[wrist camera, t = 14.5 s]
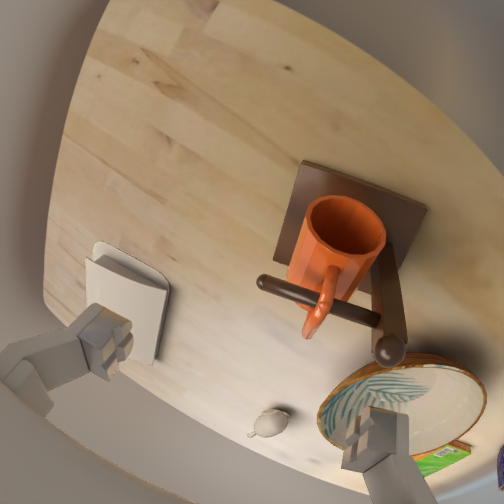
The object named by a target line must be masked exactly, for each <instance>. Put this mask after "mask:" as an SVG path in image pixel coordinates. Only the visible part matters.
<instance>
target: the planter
mask: <svg viewBox="0 0 504 504" xmlns="http://www.w3.org/2000/svg"><path fill="white" fill-rule="evenodd" d="M497 474H498V487H499V490H500V491H504V446H503V447H502V449H501V450H500V452H499V454H498V458H497Z"/></svg>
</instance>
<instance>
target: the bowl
mask: <svg viewBox="0 0 504 504" xmlns="http://www.w3.org/2000/svg"><path fill="white" fill-rule="evenodd" d="M486 403H487V393H486V390H485V388H484V385H483V384H482V383H481V382H480V381H479V379H478V378H477V377H476V376H475V375H474V374H473V373H472V372H470V371H469V370H468V369H466V368H465V367H464V366H462V365H460V364H458V363H457V362H455V361H453V360H450V359H448V358H445V357H442V356H438V355H433V354H426V353H406V355H405V357H404V359H403V361H402V362H401V363H400V364H398V365H397V366H395V367H391V368H386V367H382V366H380V365H379V364H378V363H377V362H376V361H375V362H372V363H370V364H368V365H366V366H364V367H362V368H361V369H359V370H357V371H356V372H354V373H353V374H351V375H350V376H349V377H347V378H346V379H345V380H344V381H342V382H341V383H340V384H339V385H338V386H337V387H336V388H335V389H334V390H333V391H332V392H331V394H330V395H329V396H328V397H327V398H326V400H325V401H324V402H323V403H322V405H321V406H320V408H319V411H318V414H317V425H318V428H319V431H320V432H321V434H322V435H323V436H324V438H325V439H326V440H328V441H329V442H330V443H331V444H333V445H334V446H336V447H338V448H340V449H342V450H344V451H345V450H346V449H347V448H348V445H347V443H346V441H345V440H346V434H347V431H348V428H349V426H350V424H351V422H352V421H353V419H354V418H355V417H357V416H360V415H361V413H362V410H363V409H364V408H365V407H366V406H373V407H377V408H382V409H387V410H391V411H394V412H399V413H404V414H407V415H408V417H409V456H410V457H411V456H416V455H421V454H424V453H428V452H431V451H434V450H437V449H439V448H441V447H444V446H446V445H448V444H450V443H452V442H453V441H455V440H457V439H458V438H460V437H461V436H463V435H464V434H465V433H466V432H468V431H469V430H470V429H471V428H472V427H473V426H474V425H475V424H476V423H477V422H478V420H479V419H480V417H481V415H482V414H483V412H484V409H485V406H486Z"/></svg>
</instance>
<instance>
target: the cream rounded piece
mask: <svg viewBox="0 0 504 504" xmlns="http://www.w3.org/2000/svg"><path fill="white" fill-rule="evenodd" d="M262 414H263V415H261V416H259V418H258V419H257V420H256V421H255V423H254V430H255V431H254V432H252V433H249V434H247V436H248V437H249V438H251V437H253V436H255V435H256V434H257V435H259V436H260V437H265V438H267V437H272V436H275V435H277V434H279V433H281V432H282V431H283V430H284V429H285V428H286V427H287V424H288V420H287V417H291V416H290V415H289V414H287V413H286V412H284V411H283V412H281V411H279V410H276V409H272V410H271V409H268V410H266V411H264V412H262ZM286 416H287V417H286Z"/></svg>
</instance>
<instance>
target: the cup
mask: <svg viewBox="0 0 504 504" xmlns="http://www.w3.org/2000/svg"><path fill="white" fill-rule="evenodd" d="M385 244H386V231H385V228H384V226H383V223H382V221H381V220H380V218H379V217H378V216H377V215H376V214H375V213H374V211H373V210H372V209H370V208H369V207H367V206H366V205H364V204H363V203H361V202H359V201H357V200H354V199H352V198H349V197H346V196H338V195H328V196H324V197H320V198H317V199H316V200H315V201H314V202H312V203H311V204H310V205H309V206H308V209H307V212H306V215H305V218H304V221H303V224H302V228H301V231H300V234H299V237H298V240H297V243H296V246H295V249H294V253H293V256H292V259H291V262H290V265H289V268H288V271H287V274H286V281H287V282H290V283H293V284H296V285H298V286H301V287H304V288H307V289H310V290H313V291H316V292H318V293H320V297H319V300H318V303H317V305H316V307H315V308H312V307H309V306H306V305H303V304H300V303H297V302H295V303H296V304H297V305H299V306H300V307H301V308H303V309H305V310H306V311H308V313H307V316H306V320H305V323H304V326H303V329H302V337H303V338H305V339H311V338H312V337H313V336H314V334H315V333H316V331H317V330H318V328H319V327H320V325H321V323H322V322H323V320H324V319H325V317H326V316H327V314H329V311H330V309H331V308H332V304H333V300H334V298H336V299H339V300H342V301H345V302H348V301H349V300H350V299H351V297H352V296H353V294H354V293H355V292H356V290H357V289H358V287H359V286H360V284H361V283H362V281H363V279H364V278H365V276H366V275H367V273H368V272H369V270H370V269H371V267H372V266H373V264H374V262H375V261H376V259H377V258H378V256H379V254H380V253H381V251H382V250H383V248H384V246H385Z"/></svg>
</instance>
